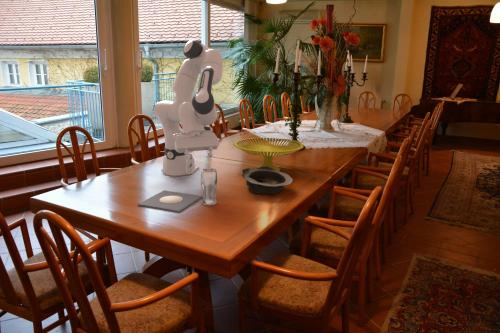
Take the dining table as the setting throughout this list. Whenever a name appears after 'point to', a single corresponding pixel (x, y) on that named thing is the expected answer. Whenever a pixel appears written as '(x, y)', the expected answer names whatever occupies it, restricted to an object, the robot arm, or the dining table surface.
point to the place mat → (170, 201)
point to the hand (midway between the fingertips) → (200, 157)
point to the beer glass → (209, 185)
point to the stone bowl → (265, 180)
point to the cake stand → (268, 149)
